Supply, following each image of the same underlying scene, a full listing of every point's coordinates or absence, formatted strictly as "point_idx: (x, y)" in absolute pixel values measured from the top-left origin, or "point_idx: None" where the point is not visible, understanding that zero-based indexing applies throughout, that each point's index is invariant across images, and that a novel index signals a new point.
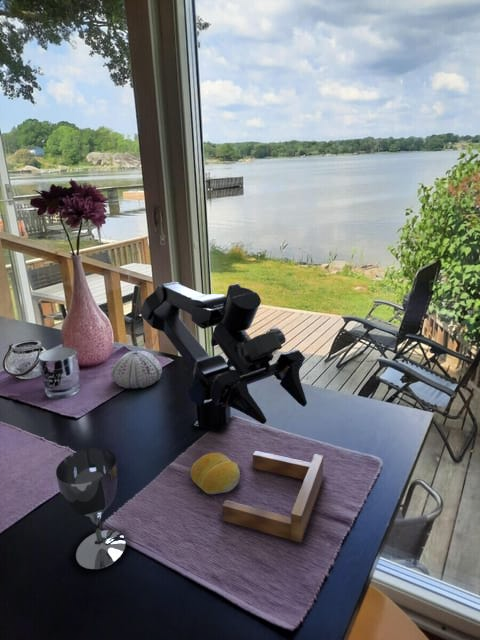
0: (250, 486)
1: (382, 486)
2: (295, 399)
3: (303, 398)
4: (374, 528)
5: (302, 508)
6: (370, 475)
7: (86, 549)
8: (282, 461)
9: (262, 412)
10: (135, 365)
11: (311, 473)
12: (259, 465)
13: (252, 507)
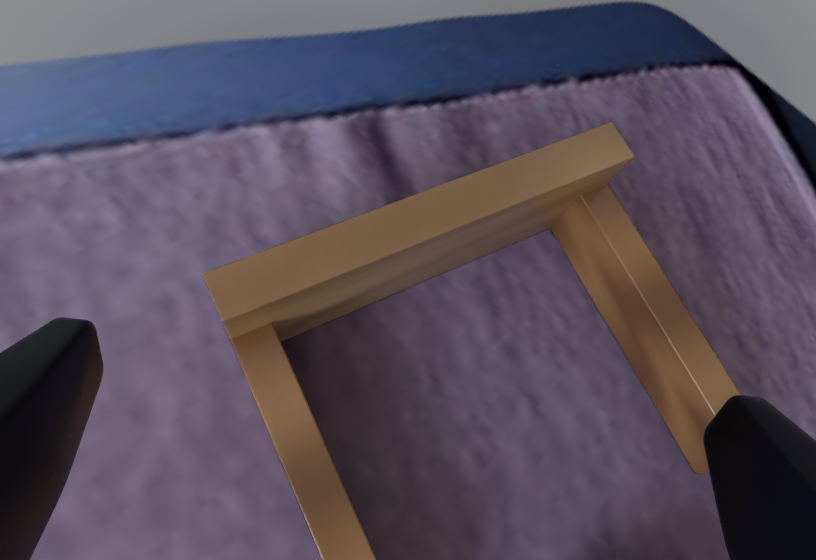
0: (514, 540)
1: (89, 114)
2: (32, 544)
3: (42, 359)
4: (327, 54)
5: (583, 138)
6: (46, 179)
7: None
8: (343, 484)
9: (801, 464)
10: None
11: (383, 232)
12: None
13: (677, 346)
